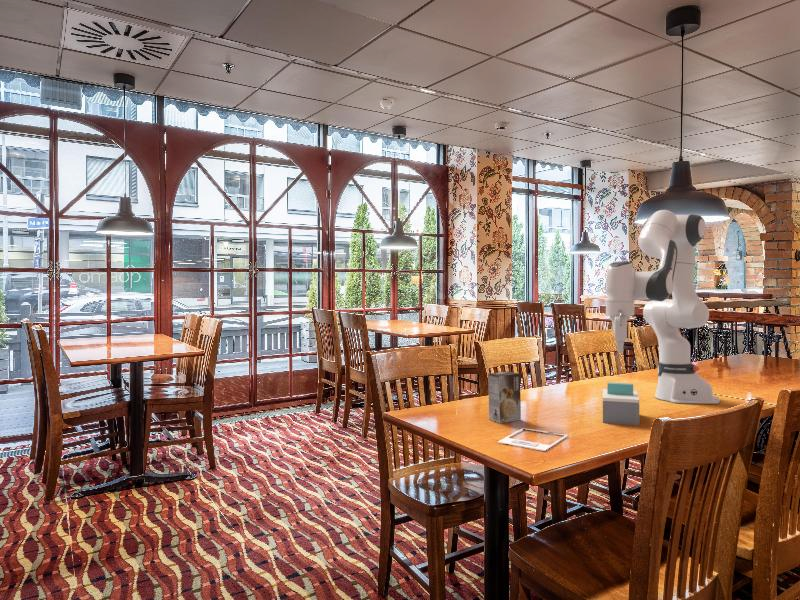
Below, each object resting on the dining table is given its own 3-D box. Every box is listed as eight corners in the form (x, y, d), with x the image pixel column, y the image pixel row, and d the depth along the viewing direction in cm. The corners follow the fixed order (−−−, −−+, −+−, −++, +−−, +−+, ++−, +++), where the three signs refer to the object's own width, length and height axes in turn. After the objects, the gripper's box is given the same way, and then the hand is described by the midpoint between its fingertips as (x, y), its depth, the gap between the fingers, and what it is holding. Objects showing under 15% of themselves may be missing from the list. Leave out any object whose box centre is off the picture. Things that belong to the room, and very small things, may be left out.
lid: (636, 396, 192) (636, 380, 191) (639, 406, 178) (639, 388, 177) (602, 395, 195) (602, 378, 195) (602, 404, 181) (602, 387, 181)
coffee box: (509, 416, 195) (509, 370, 194) (521, 420, 189) (521, 373, 189) (488, 419, 191) (487, 373, 190) (499, 423, 185) (499, 376, 184)
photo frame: (497, 441, 163) (523, 427, 178) (497, 444, 164) (523, 430, 178) (544, 449, 155) (568, 434, 169) (544, 453, 155) (568, 438, 169)
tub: (636, 416, 192) (636, 393, 192) (639, 427, 178) (639, 402, 177) (602, 414, 196) (602, 391, 195) (602, 425, 182) (602, 400, 181)
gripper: (631, 312, 175) (631, 355, 175) (628, 308, 194) (628, 348, 194) (610, 311, 177) (610, 355, 177) (609, 308, 196) (609, 347, 196)
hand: (619, 351), depth 186 cm, fingers open, 8 cm apart
